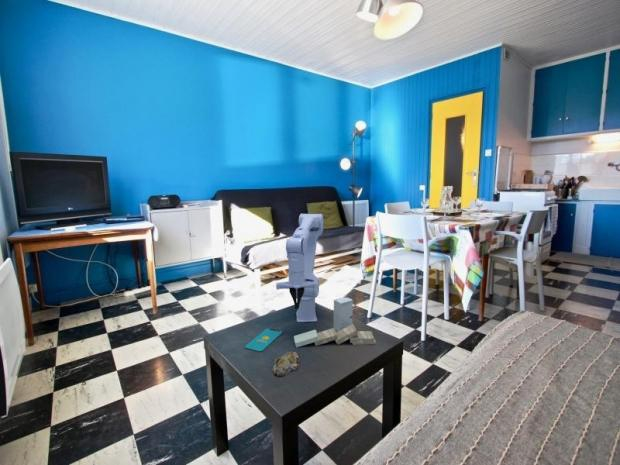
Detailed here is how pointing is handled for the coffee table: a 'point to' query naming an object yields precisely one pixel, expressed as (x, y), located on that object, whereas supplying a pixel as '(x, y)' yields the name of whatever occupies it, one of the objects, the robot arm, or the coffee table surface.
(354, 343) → the domino
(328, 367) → the coffee table surface
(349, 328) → the domino
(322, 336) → the domino
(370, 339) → the domino
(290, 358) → the mineral rock
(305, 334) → the domino
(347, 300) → the skincare box
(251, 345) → the smartphone
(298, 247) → the robot arm
